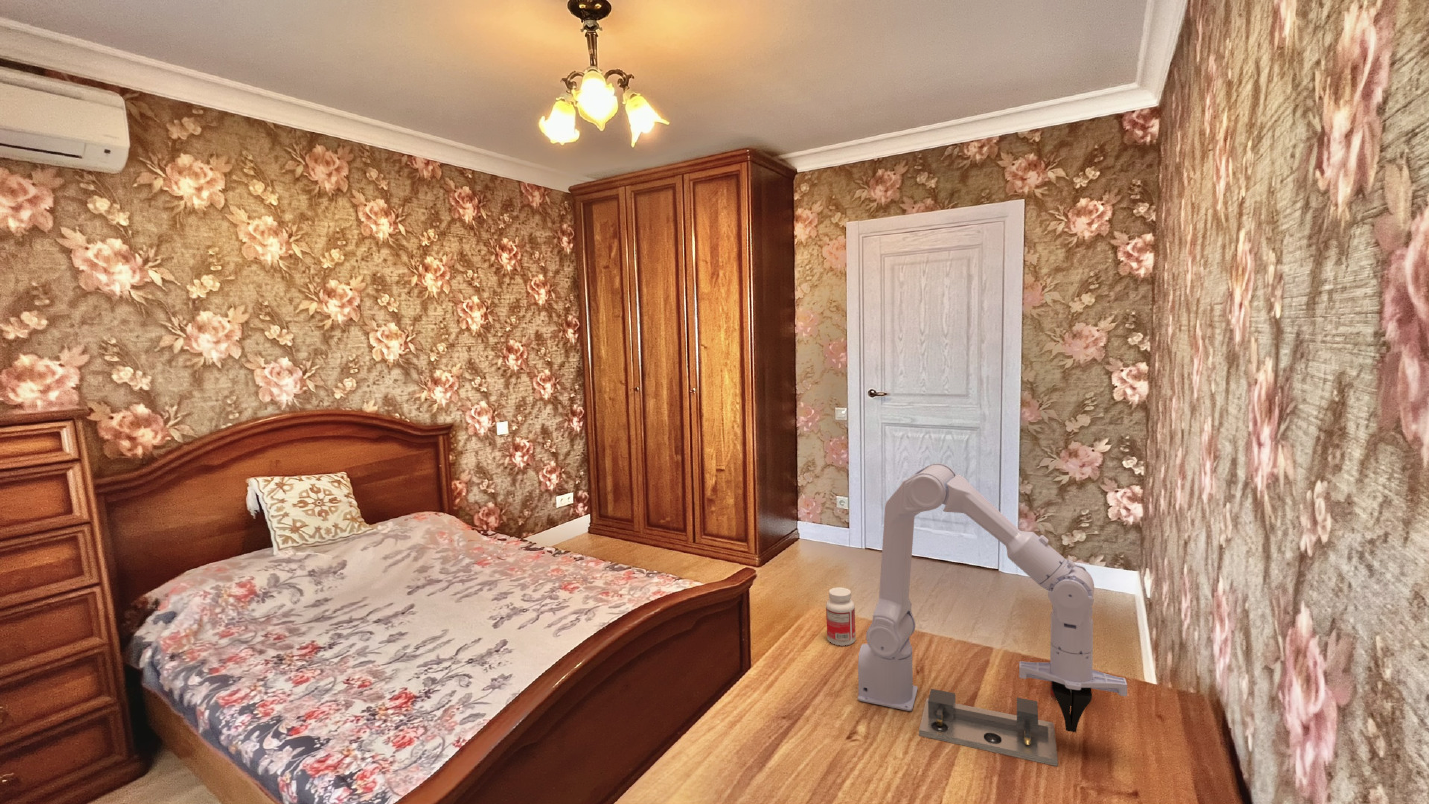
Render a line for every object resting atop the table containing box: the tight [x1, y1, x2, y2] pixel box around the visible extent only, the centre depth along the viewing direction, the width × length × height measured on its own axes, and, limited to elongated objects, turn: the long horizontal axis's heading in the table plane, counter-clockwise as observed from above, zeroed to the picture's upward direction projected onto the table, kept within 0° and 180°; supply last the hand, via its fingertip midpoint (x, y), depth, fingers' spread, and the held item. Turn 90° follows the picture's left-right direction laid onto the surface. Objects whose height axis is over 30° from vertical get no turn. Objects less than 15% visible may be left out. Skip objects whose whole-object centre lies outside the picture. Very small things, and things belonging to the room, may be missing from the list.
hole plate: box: [918, 697, 1059, 767], centre depth 102 cm, size 20×10×1 cm, turn 64°
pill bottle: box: [825, 586, 857, 647], centre depth 135 cm, size 6×6×11 cm
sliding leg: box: [1016, 697, 1039, 745], centre depth 99 cm, size 3×6×4 cm, turn 154°
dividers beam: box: [928, 688, 1048, 738], centre depth 102 cm, size 18×6×3 cm, turn 64°
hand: (1070, 728), depth 98 cm, fingers closed
